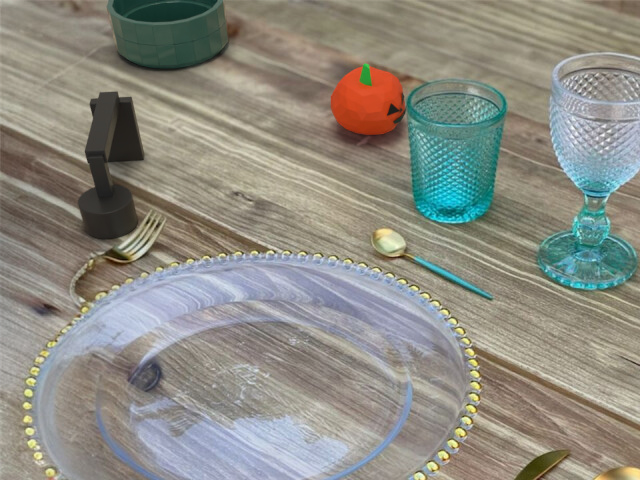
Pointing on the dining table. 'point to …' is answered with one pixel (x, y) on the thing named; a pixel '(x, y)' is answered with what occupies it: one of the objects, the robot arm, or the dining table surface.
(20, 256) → the dining table surface
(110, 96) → the dark grey desk lamp
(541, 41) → the dining table surface
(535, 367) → the dining table surface
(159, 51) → the bowl
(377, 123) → the pumpkin
